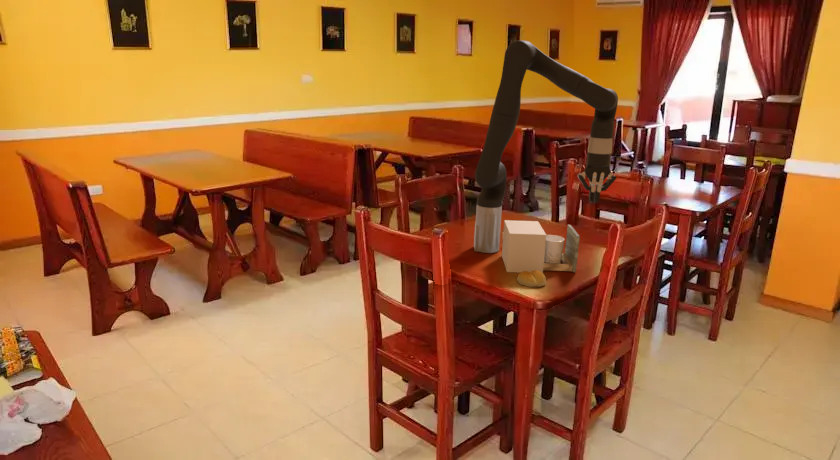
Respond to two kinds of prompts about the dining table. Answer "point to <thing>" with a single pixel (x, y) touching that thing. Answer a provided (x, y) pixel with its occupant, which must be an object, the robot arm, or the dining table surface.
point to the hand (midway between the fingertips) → (593, 202)
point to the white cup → (553, 249)
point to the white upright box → (523, 246)
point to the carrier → (567, 253)
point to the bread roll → (531, 278)
